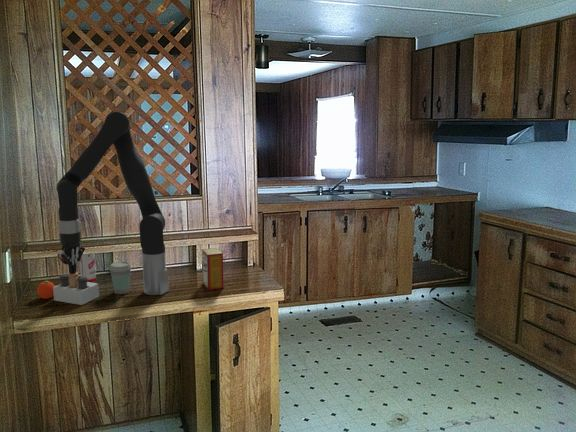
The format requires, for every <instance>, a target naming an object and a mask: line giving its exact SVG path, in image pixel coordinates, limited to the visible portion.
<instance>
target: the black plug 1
mask: <svg viewBox="0 0 576 432" xmlns="http://www.w3.org/2000/svg"><path fill="white" fill-rule="evenodd" d="M59 279H60V284H61V286H62V287H67V286H69V285H70V283H69V276H68V273H67V274H66V273H65V274H61V275H59Z"/></svg>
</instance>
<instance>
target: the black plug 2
mask: <svg viewBox="0 0 576 432" xmlns="http://www.w3.org/2000/svg"><path fill="white" fill-rule="evenodd" d="M87 280H88V278H87V277H81V276H80V277H78V278H77V281H78V286H79V289H82V290H84V289H86V288H87Z"/></svg>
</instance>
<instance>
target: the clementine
mask: <svg viewBox="0 0 576 432" xmlns="http://www.w3.org/2000/svg"><path fill="white" fill-rule="evenodd" d="M55 286H56V285H55V284H54V282H51V281H49V280H44V281H42V282H41V283H39V284H38V286H37V288H36V293H37V295H38V296H39V297H40V298H41V299H44V300H47V299H51V298H52V297H54V293H53V287H55Z"/></svg>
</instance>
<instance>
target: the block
mask: <svg viewBox="0 0 576 432" xmlns="http://www.w3.org/2000/svg"><path fill="white" fill-rule="evenodd" d="M53 293H54V296H53V301H55V302H62V303H68V304H74V305H80V306H82V305H85V304H88V303H89V302H91V301H93V300H95V299H97V298H99V297H100V287H99V283H96V282H94V283H91V282H87V288H86V289H84V290H82V289H79V287H77V288H70V285H69V286H67V287H62V286H61V283H60V284H57V285H55V287H53Z"/></svg>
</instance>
